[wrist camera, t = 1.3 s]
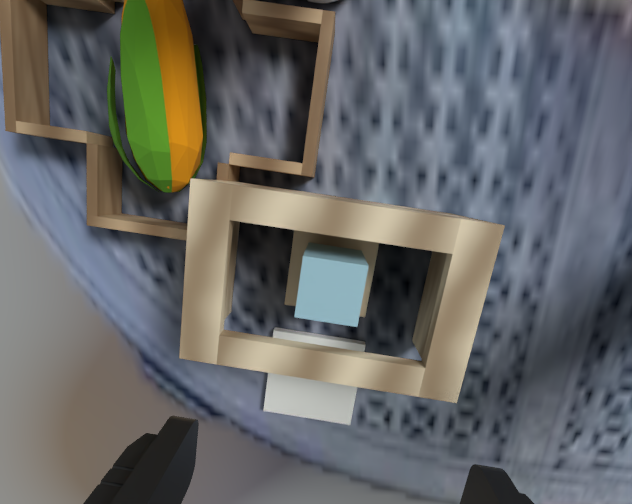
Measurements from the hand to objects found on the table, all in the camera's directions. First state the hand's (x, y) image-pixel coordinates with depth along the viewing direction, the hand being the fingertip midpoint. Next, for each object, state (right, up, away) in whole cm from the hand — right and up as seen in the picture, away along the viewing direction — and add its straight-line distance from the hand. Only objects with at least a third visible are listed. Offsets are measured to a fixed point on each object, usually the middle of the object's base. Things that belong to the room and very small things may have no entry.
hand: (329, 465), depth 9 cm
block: (+1, +4, +21) cm, 22 cm away
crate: (+1, +5, +24) cm, 25 cm away
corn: (-14, +22, +22) cm, 34 cm away
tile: (-1, -8, +27) cm, 28 cm away
